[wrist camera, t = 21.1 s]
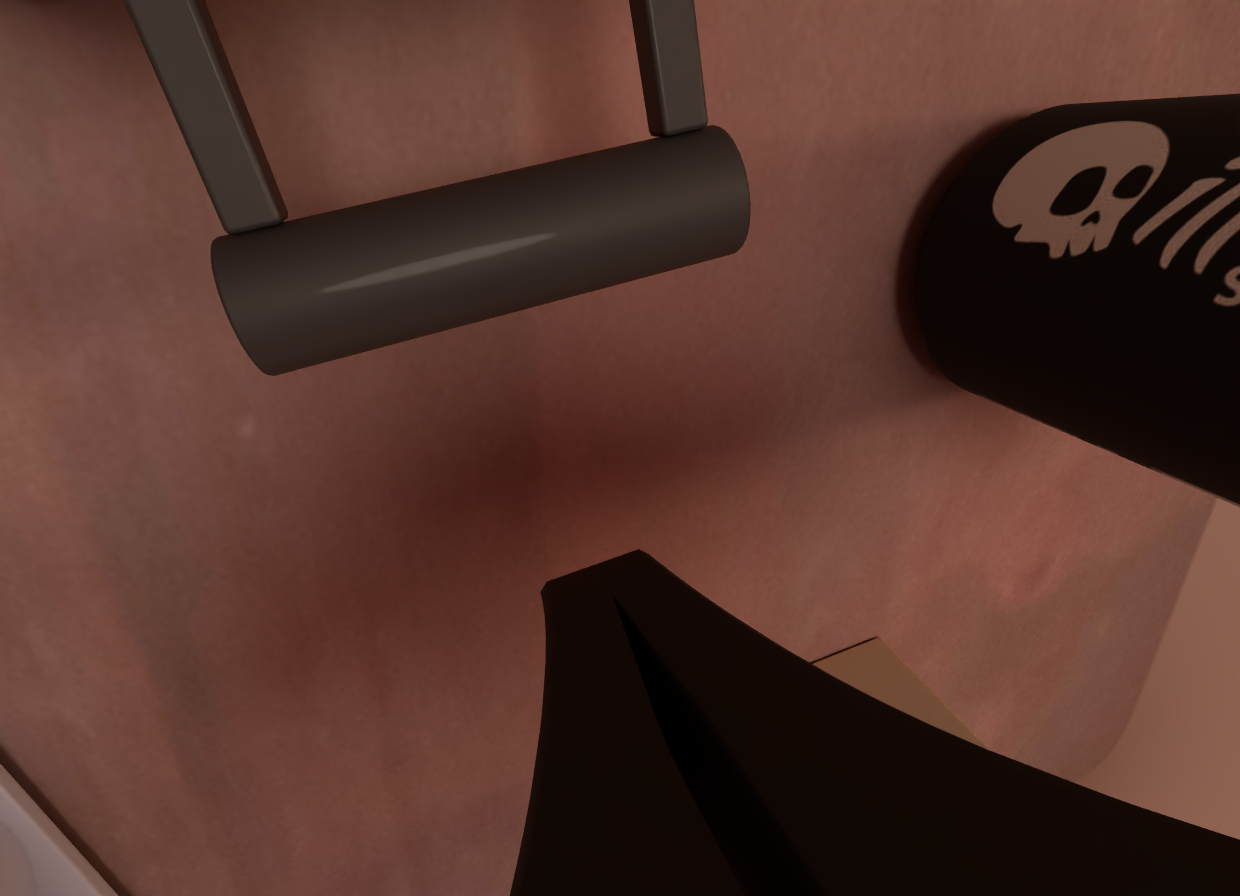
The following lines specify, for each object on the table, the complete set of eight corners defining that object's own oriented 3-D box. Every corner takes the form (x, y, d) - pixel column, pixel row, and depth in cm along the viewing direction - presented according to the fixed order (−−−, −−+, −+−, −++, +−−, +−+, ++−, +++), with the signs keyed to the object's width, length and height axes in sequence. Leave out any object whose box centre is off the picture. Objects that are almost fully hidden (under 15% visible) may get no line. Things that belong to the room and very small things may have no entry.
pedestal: (881, 751, 23) (1162, 1100, 15) (741, 812, 22) (956, 1222, 14) (878, 636, 21) (1212, 972, 12) (722, 698, 20) (968, 1109, 11)
